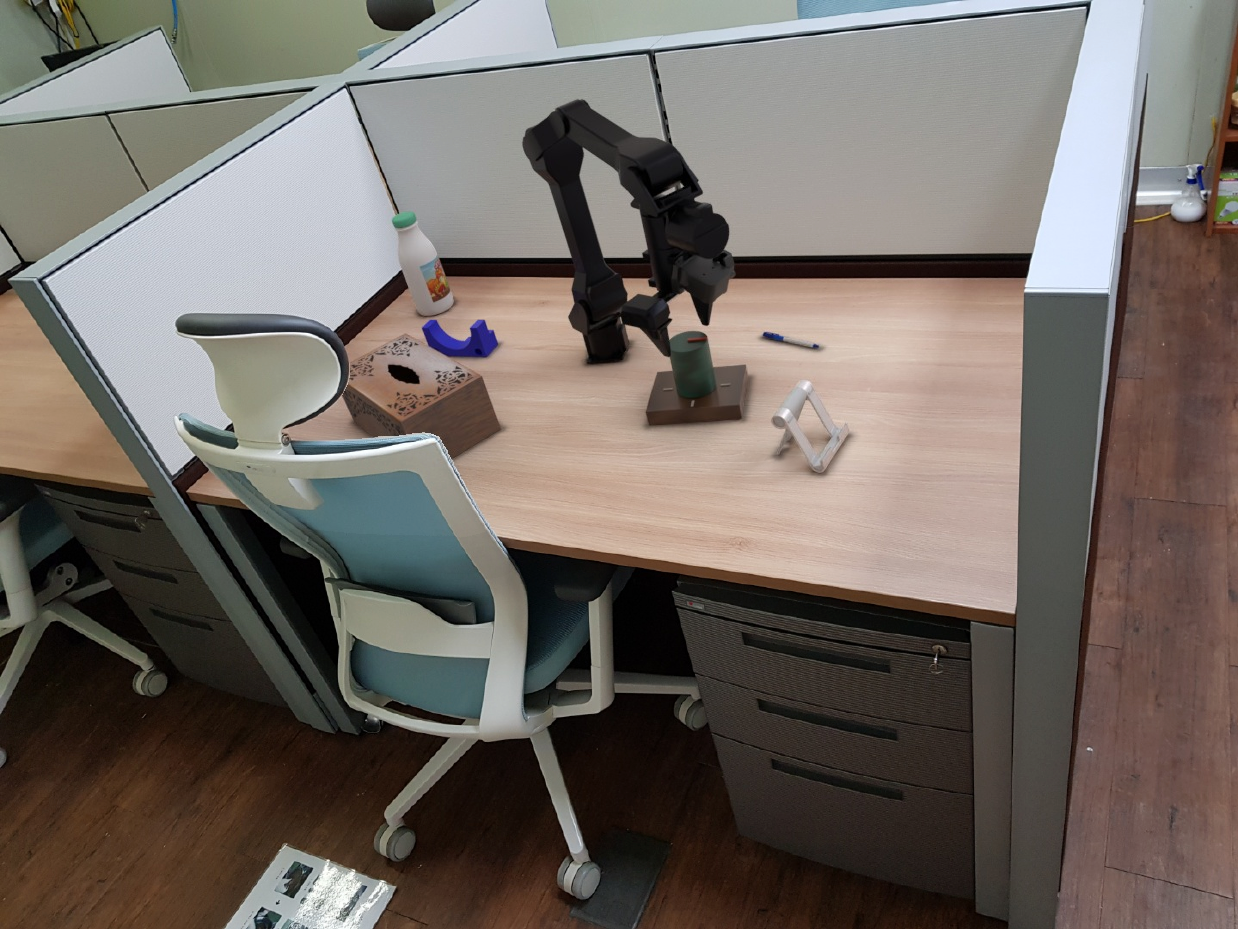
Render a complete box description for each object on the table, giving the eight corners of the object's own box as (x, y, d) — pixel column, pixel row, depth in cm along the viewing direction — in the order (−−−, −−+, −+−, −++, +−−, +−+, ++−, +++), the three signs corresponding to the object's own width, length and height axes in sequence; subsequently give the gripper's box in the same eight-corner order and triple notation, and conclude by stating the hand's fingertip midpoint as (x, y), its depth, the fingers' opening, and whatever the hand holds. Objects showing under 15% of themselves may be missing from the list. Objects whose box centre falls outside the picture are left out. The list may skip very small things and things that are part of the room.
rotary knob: (674, 399, 138) (663, 351, 133) (679, 378, 142) (669, 330, 138) (713, 396, 136) (704, 348, 131) (718, 374, 141) (709, 327, 136)
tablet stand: (825, 474, 120) (819, 422, 116) (770, 464, 125) (762, 413, 120) (849, 436, 126) (845, 384, 121) (795, 427, 130) (789, 377, 125)
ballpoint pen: (761, 338, 152) (760, 332, 151) (764, 335, 152) (763, 330, 151) (817, 349, 145) (817, 344, 144) (820, 346, 145) (820, 341, 145)
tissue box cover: (500, 428, 147) (482, 375, 141) (423, 475, 141) (400, 421, 135) (425, 381, 165) (405, 333, 159) (353, 421, 159) (331, 372, 153)
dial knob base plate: (648, 425, 138) (645, 410, 137) (660, 385, 147) (656, 370, 145) (741, 419, 135) (739, 403, 133) (748, 377, 143) (745, 363, 141)
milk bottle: (424, 320, 186) (388, 227, 174) (414, 308, 192) (378, 217, 180) (459, 306, 188) (426, 213, 176) (448, 294, 194) (415, 203, 182)
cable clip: (498, 344, 171) (488, 315, 167) (486, 357, 167) (476, 328, 164) (444, 343, 176) (434, 315, 172) (432, 355, 172) (421, 327, 169)
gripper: (670, 280, 116) (691, 385, 125) (755, 217, 125) (769, 318, 134) (606, 268, 123) (630, 368, 132) (691, 210, 132) (708, 306, 141)
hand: (686, 340), depth 135 cm, fingers open, 9 cm apart
